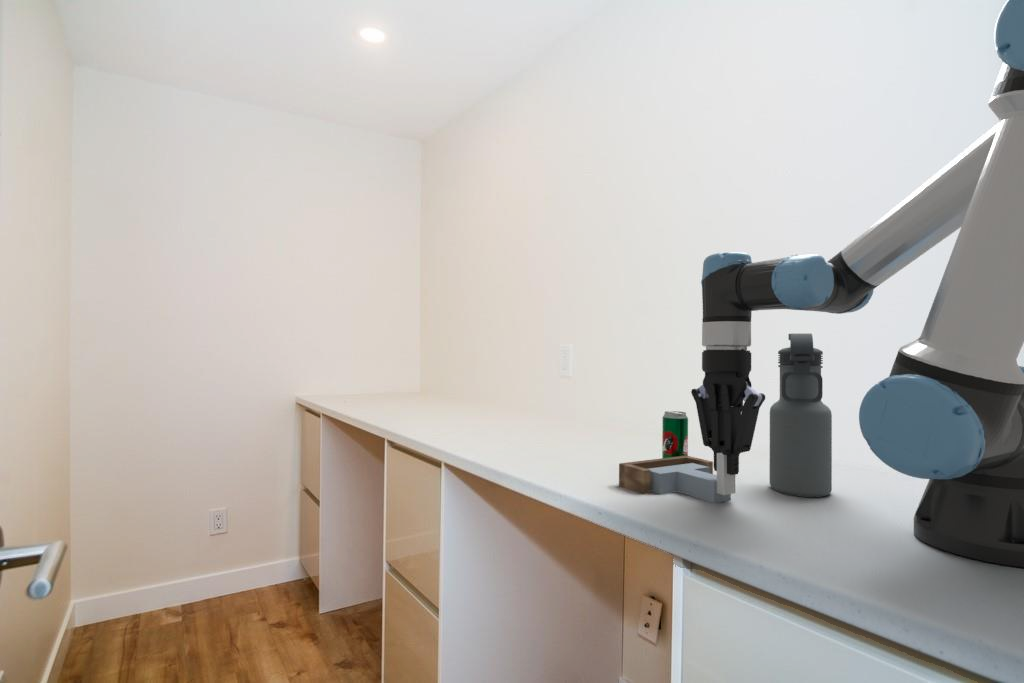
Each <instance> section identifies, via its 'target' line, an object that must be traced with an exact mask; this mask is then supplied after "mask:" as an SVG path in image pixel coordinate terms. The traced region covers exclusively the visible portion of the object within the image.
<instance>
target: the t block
mask: <svg viewBox="0 0 1024 683" xmlns="http://www.w3.org/2000/svg"><path fill="white" fill-rule="evenodd" d="M649 470H650V492H652V493H656V494H658V495H663V494H671V493H677V492H678V493H681V494H684V495H686V496H691V497H694V498H696V499H700V500H704V501H707V502H709V503H712V504H717V503H722V502H726V501H727V502H728V501H731V500H732V494H728V495H722V494H718V493H717V474H714V473H713V474H710V473H709V467H707V466H703V465H699V464H695V463H688V464H681V465H673V466H665V467H657V468H650V469H649Z"/></svg>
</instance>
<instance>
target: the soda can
mask: <svg viewBox="0 0 1024 683" xmlns="http://www.w3.org/2000/svg"><path fill="white" fill-rule="evenodd" d="M661 437H662V440H661V441H662V444H661V446H662V450H661V451H662V455H661V456H662V457H661V458H670V457H678V456H689V418H688V416H687V412H684V411H679V410H678V411H677V410H675V411H674V410H669V411H666V410H665V411H664V414H663V416H662V436H661Z"/></svg>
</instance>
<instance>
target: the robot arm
mask: <svg viewBox="0 0 1024 683" xmlns="http://www.w3.org/2000/svg"><path fill="white" fill-rule="evenodd" d="M993 41H994V42H993V43H994V45H995V52H996V55H997V56H998V58H1000V59H1001V61H1002V65H1001V68H1000V70H999V73H998V75H997V78H996V81H995V84H994V86H993V90H992V92H991V95H990V98H989V101H988V108H990V110H991V111H992V112H993V114H994V115H995V116H996V117H997V118H998V121H999V122H998V123H997V124H995V125H994V126H993V127H991V129H989V130H988V131H987V132H986V133H985V134H983V135H982V136H980V138H978V139H977V140H976V141H975V142H973V143H972V144H970V145H969V146H968V148H965V149H964V151H963V152H961V153H960V154H958V155H957V156H956V157H955V158H954V159H953V160H951V161H950V162H949V163H948V164H946V165H945V166H944V167H943V168H941V169H940V170H939V171H938V172H936V173H935V174H934V175H933V176H931V178H929V179H927V180H926V181H925V182H924V183H923V184H922V185H921V186H919V187H918V188H916V189H915V190H914V191H913V192H911V194H909V195H908V196H907V197H906V198H904V199H903V200H902V201H901V202H899V204H897V205H896V206H894V207H892V209H891V210H890V211H888V212H887V213H886V214H884V216H882V217H881V218H880V219H878V220H877V221H876V222H875V223H873V224H872V225H871V226H870V227H868V228H867V229H866V230H865V231H863V232H862V233H861V234H860V235H858V237H856V238H855V239H854V240H853V241H852V242H850V243H849V244H847V245H846V246H845V247H844V248H843V249H842V250H840V251H839V252H838V253H836V254H835V255H834V256H833V257H832V258H829V260H828V261H826V260H825V258H824V256H822V255H820V254H814V253H811V254H802V255H800V254H792V255H790V256H787V257H780V258H775V259H768V260H764V261H756V262H752V257H751V256H752V255H750V254H749V253H746V252H741V251H731V252H730V251H728V252H718V253H713V254H710V255H707V257H705V259H704V261H703V263H702V274H701V275H702V276H701V281H700V283H701V284H700V285H701V290H702V291H701V294H702V295H701V296H702V300H701V303H702V319H701V320H702V323H701V324H702V326H701V328H702V329H701V345H702V346H703V347H705V349H704V350H703V351H702V352H701V371H702V372H704V377H703V380H702V385H701V386H699V387H698V388H693V389H691V392H690V393H691V395H692V397H693V400H694V402H695V406H696V410H697V412H696V413H697V416H698V422H699V427H700V432H701V438H702V443H703V446H704V447H708V448H710V449H711V450H712V451H713V471H714V472H716V475H717V493H718V494H722V495H728V494H731V495H733V494H736V475H738V474H739V472H740V469H739V468H740V467H739V466H740V454H741V453H746V452H749V451H751V447H752V444H753V440H754V439H753V438H754V434H755V430H756V425H757V421H758V416H759V412H760V408H761V406H762V405H763V403H764V402H765V400H766V395H765V394H764V393H762V392H761V393H760V392H759V393H758V392H757V391H756V390H755V389H753V388H752V382H751V379H750V373H751V371H752V352H751V351H750V350H748V347H751V346H752V312H753V311H756V312H757V311H769V310H770V311H771V310H790V311H791V310H792V311H793V310H794V311H806V312H807V311H809V312H818V313H819V312H820V313H829V314H836V315H838V314H840V315H841V314H847V313H854V312H857V311H859V310H861V309H863V308H864V307H866V306H867V305H868V304H869V302H870V300H871V299H872V296H873V294H874V290H875V289H876V288H877V287H878V286H880V285H881V284H883V283H884V282H885V281H887V280H889V279H890V278H891V277H893V276H894V275H896V274H897V273H898V272H900V271H902V269H904V268H906V267H907V266H908V265H910V264H911V263H912V262H914V261H916V260H917V259H918V258H919V257H921V256H923V255H924V254H926V253H927V252H929V250H931V249H933V247H935V246H936V245H938V244H940V242H942V241H943V240H945V239H946V238H948V237H949V236H951V235H952V234H954V233H955V232H956V231H958V230H959V233H958V235H957V237H956V240H955V243H954V245H953V248H952V252H951V254H950V256H949V259H948V262H947V264H946V267H945V269H944V273H943V275H942V278H941V281H940V283H939V286H938V288H937V291H936V293H935V296H934V299H933V301H932V304H931V308H930V310H929V312H928V315H927V317H926V321H925V324H924V326H923V329H922V331H921V334H920V336H919V337H918V338H917V339H915V340H914V341H911V342H909V343H906V344H904V345H902V346H900V347H899V349H898V350H897V354H896V357H895V359H894V362H893V364H892V368H891V369H890V373H889V375H888V377H886V378H883V379H882V380H880V381H878V382H877V383H876V384H874V385H873V386H872V387H871V388H870V389H868V391H867V392H866V394H865V395H864V396H863V398H862V400H861V403H860V406H859V409H858V410H859V412H858V421H859V422H858V423H859V428H860V432H861V435H862V437H863V438H864V440H865V442H866V443H867V445H868V446H869V449H870V450H871V452H872V453H873V454H874V455H875V456H876V457H877V458H878V459H879V460H880V461H881V462H882V463H884V464H885V465H886V466H888V467H889V468H890V469H892V470H894V471H897V472H899V473H901V474H903V475H906V476H909V477H912V478H916V479H923V480H928V482H927V484H926V487H925V489H924V492H923V494H922V495H921V496H922V497H921V498H920V501H919V504H918V506H917V508H916V511H915V513H914V515H913V516H914V517H913V534H914V536H915V537H916V538H917V539H919V540H920V541H921V542H924V543H925V544H928V545H930V546H932V547H934V548H937V549H940V550H942V551H945V552H949V553H951V554H954V555H955V554H956V555H958V556H962V557H966V558H970V559H974V560H978V561H982V562H988V563H993V564H997V565H1003V566H1004V565H1005V566H1013V567H1020V568H1024V366H1023V365H1022V366H1021V365H1019V364H1018V361H1017V360H1018V357H1019V354H1020V352H1021V350H1022V347H1023V345H1024V0H1007V1H1005V4H1003V6H1002V9H1001V10H1000V12H999V15H998V17H997V19H996V22H995V26H994V30H993Z"/></svg>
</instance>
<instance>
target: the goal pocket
mask: <svg viewBox="0 0 1024 683" xmlns="http://www.w3.org/2000/svg"><path fill="white" fill-rule="evenodd" d="M688 463H695V464H699V465H703V466H707V467H709V473H710V474H714V461H712V460H708V459H703V458H699V457H694V456H691V455H688V456H678V457H670V458H662V457H661V458H653V459H645V460H637V461H631V462H629V461H628V462H620V463H618V486H620V487H623V488H625V489H628V490H631V491H634V492H637V493H639V494H642V495H644V494H645V495H647V494H651V491H650V470H649V469H650V468H657V467H665V466H673V465H681V464H688Z"/></svg>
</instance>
